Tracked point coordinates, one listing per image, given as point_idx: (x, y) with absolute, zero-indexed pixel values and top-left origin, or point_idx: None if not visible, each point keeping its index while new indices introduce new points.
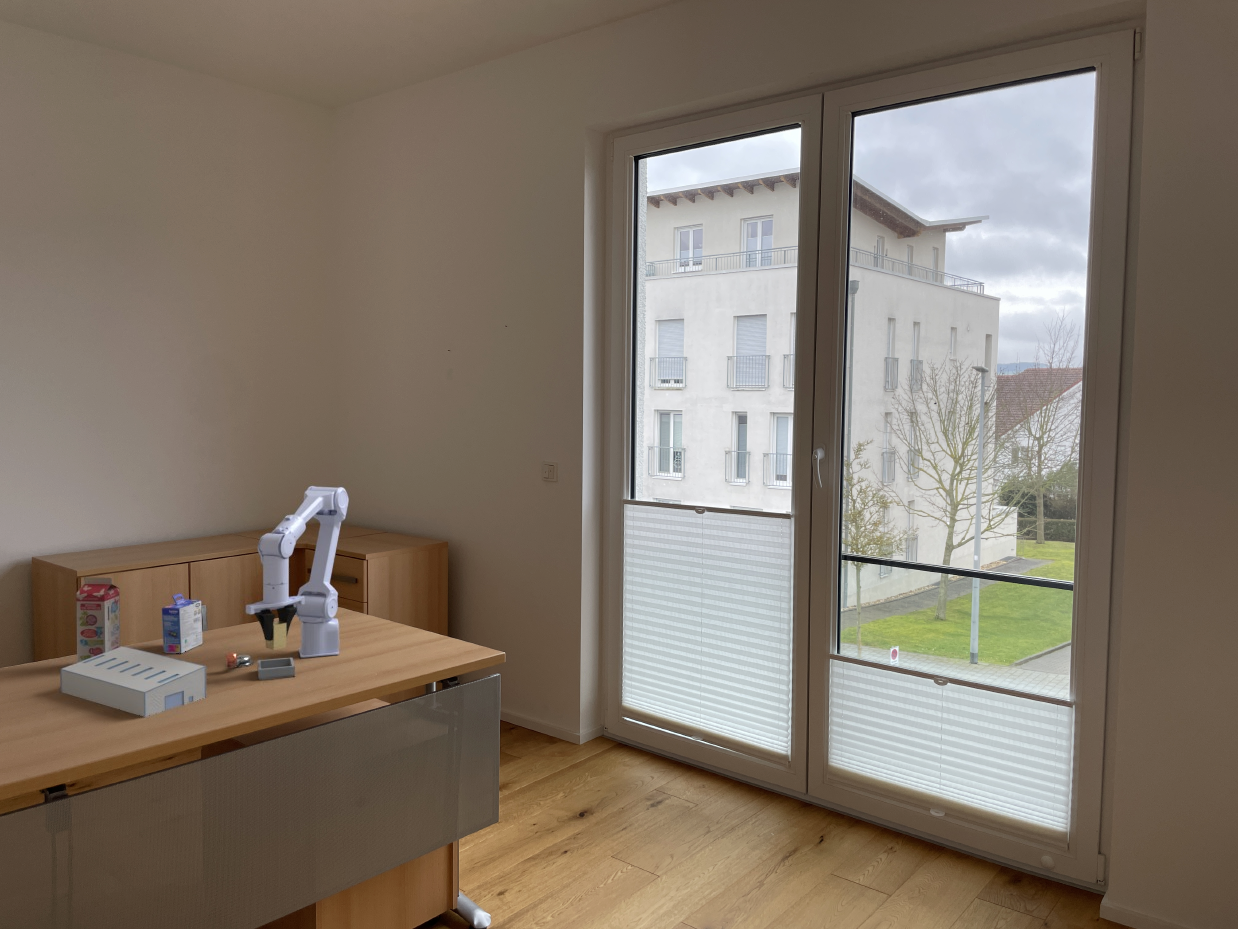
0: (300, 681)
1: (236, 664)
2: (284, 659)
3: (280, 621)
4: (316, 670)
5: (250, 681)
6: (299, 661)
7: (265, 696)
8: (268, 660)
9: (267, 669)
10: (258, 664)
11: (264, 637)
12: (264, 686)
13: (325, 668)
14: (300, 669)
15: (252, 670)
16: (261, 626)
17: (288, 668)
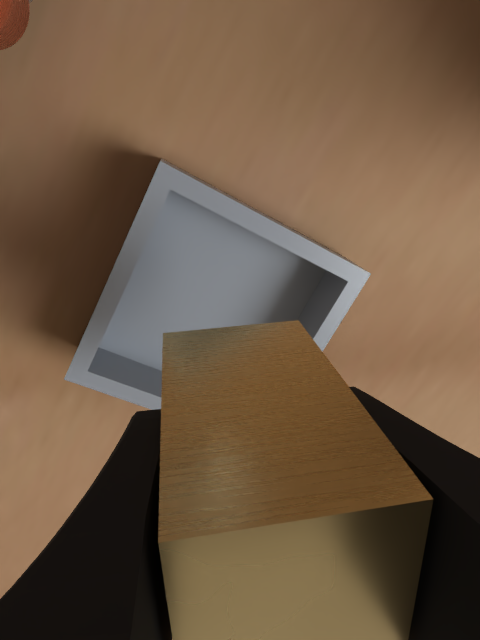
0: None
1: (14, 37)
2: (317, 264)
3: (411, 568)
4: (382, 388)
5: (30, 332)
6: (449, 170)
7: (3, 568)
8: (224, 215)
9: (116, 396)
10: (117, 264)
11: (127, 426)
12: (59, 451)
13: (429, 387)
14: (347, 320)
15: (139, 119)
16: (59, 539)
17: None
